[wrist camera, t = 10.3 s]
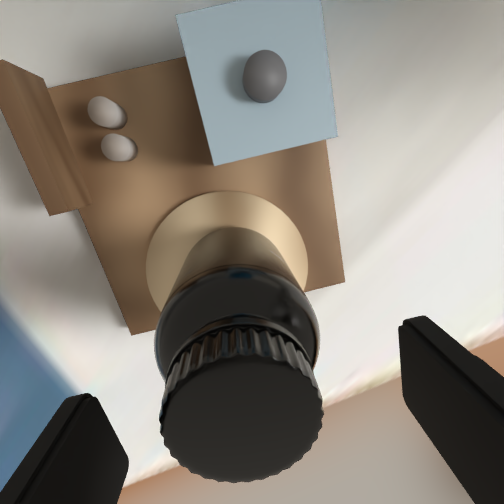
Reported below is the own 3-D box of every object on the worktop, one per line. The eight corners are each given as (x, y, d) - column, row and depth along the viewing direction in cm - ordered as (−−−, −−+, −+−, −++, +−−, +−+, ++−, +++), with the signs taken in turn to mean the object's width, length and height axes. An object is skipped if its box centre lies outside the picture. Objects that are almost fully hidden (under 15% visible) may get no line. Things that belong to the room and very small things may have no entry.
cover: (294, 29, 16) (325, -31, 11) (311, 142, 18) (344, 134, 13) (188, 53, 16) (171, 4, 11) (216, 165, 18) (213, 166, 13)
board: (303, 26, 17) (327, -15, 13) (342, 304, 23) (367, 333, 19) (38, 88, 17) (-20, 64, 13) (147, 353, 23) (130, 394, 19)
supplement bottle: (299, 244, 19) (405, 363, 8) (260, 328, 21) (303, 525, 10) (202, 207, 18) (163, 286, 7) (169, 300, 20) (93, 489, 8)
